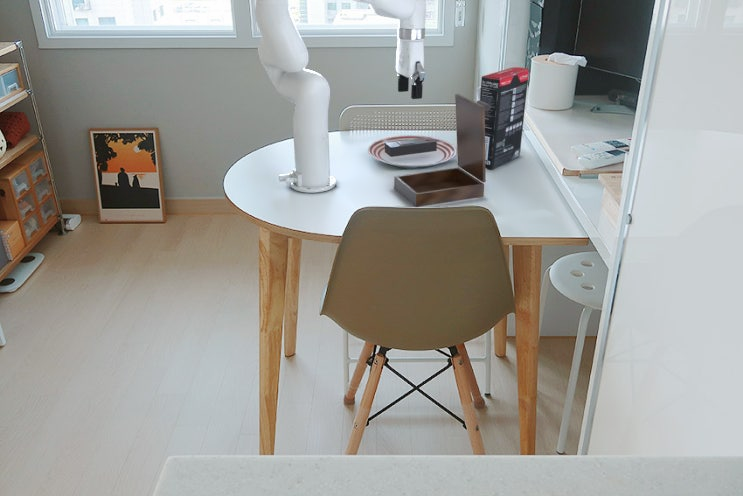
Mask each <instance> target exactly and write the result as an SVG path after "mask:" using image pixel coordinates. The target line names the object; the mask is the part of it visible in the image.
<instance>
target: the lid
mask: <svg viewBox="0 0 743 496" xmlns="http://www.w3.org/2000/svg"><path fill="white" fill-rule="evenodd" d="M454 98H455V124H456V125H455V126H456V127H455V128H456V149H457V153H456V156H457V157H456V158H457V159H456V160H457V167H459V168H461V169H462V170H464V171H465V172H467V173H468V174H470V175H471V176H473V177H474V178H476V179H477V180H479V181H480V182H482V183H483V184H485V183H486V181H487V179H486V178H487V177H486V174H487V173H486V172H487V171H486V168H485V110H486V111H489V110H490V108H491V106H490V105H489V104H487V103H484V102H482V101H480V100H478V101H477V100H476V101H474V100H472V99H470V98H468V97H466V96H464V95H461V94H460V93H455V94H454Z"/></svg>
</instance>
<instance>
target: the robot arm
mask: <svg viewBox="0 0 743 496" xmlns="http://www.w3.org/2000/svg"><path fill="white" fill-rule="evenodd" d="M353 1H354V2H357V3H358V2H359V3H362V4H367V5H369V6H370V9H371V10H372V12H373V13H374V14H376V15H378V16H379V17H384V18H389V19H395V20H398V22H397V23H398V25H397V26H398V27H397V48H396V58H395V71H396V72H397V92H399V93H403V92H404V93H405V92H409V86H410V84H409V83H410V82H409V81H410V78H411V82H412V84H411V89H410V90H411V93H410V98H411V99H412V100H420V99H423V87H424V86H423V85H424V80H425V75H426V71H425V48H424V47H425V46H424V41H425V40H426V39H425V38H426V15H427V13H426V12H427V0H353ZM290 2H291V0H256V2H255V8H254V16H255V22H256V25H257V27H258V30H259V31H260V33H261V37H260V38H259V41H258V43H257V54H258V59H259V61H260V64H261V65H262V67H263V69H264V71H265V73H266V74H267V76H268V79H269V80H270V82H271V84H272V85H273V87H274V89H275V90H276V92H277V94H278V95H279V96H280V97H281V98H282V99H284V100H286V101H288V102H290V103H292V104H294V105H295V108H294V112H293V117H292V133H293V150H294V167H295V168H292V171H291V172H289V173H285V174H284V173H283V174H278V181H279V182H280V183H281V182H285V184H290V187H291V189H293V190H294V191H297V192H301V193H307V194H309V193H311V194H312V193H314V194H315V193H322V192H326V191H329V190H332V189H333V188H335V187H336V186H337V181H336V178H334V177H333V176H331V165H330V138H329V107H330V101H331V88H330V84H329V83H328V80H327V79H326V78H325V76H323V75H322V74H320V73H319V72H316V71H313V70H310V69H306V67H307V66H308V64H309V59H310V57H309V51H308V48H307V46H306V44H305V42H304V40H303V38H302V35H301V34H300V32H299V30H298V28H297V26H296V24H295V21H294V20H293V17H292V14H291V11H290Z"/></svg>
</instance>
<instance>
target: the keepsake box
mask: <svg viewBox="0 0 743 496" xmlns="http://www.w3.org/2000/svg"><path fill="white" fill-rule="evenodd" d="M393 189H394V190H395V191H396V192H398V194H399V195H401V196H402V197H403V198H405V199H406V200H407V201H408V202H409V203H410V204H411V205H412V206H414V207H415V208H421V207H427V206H433V205H440V204H445V203H447V204H448V203H452V202H458V201H459V202H460V201H464V200H472V199H478V198H483V197H484V194H485V183H483V182H481V181H480V180H478V179H477V178H475V177H474V176H472V175H471V174H469V173H468V172H466V171H465V170H463V169H462V168H460V167H459V166H457V167H451V168H443V169H437V170H429V171H422V172H421V171H420V172H415V173H408V174H401V175H394V177H393Z"/></svg>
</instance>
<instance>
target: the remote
mask: <svg viewBox="0 0 743 496" xmlns="http://www.w3.org/2000/svg"><path fill="white" fill-rule="evenodd" d="M430 137H431V136H427V138H419V139H411V140H403V141H395V142H387V143H385V153H386V154H388V155H389V156H390V157H395V156H402V155H410V154H417V153H425V152H433V151H437V141H435V140H434V139H432V138H430Z"/></svg>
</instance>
